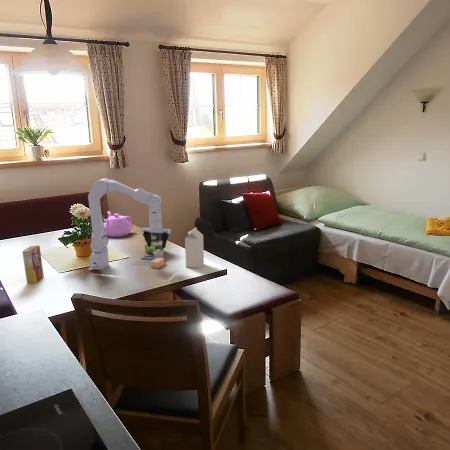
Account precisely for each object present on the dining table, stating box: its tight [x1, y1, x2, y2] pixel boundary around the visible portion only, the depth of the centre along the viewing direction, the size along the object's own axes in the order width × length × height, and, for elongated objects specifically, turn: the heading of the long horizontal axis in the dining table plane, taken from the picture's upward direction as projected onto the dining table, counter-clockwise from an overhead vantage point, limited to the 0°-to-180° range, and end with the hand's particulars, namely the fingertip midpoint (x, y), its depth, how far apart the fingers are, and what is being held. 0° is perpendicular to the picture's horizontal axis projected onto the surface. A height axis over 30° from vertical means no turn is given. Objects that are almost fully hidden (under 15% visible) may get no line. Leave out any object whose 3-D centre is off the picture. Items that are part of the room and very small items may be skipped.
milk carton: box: [184, 226, 205, 269], centre depth 208 cm, size 7×7×19 cm
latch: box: [153, 249, 165, 259], centre depth 215 cm, size 6×4×5 cm, turn 165°
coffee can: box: [144, 226, 165, 256], centre depth 229 cm, size 10×10×14 cm
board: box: [131, 255, 154, 267], centre depth 215 cm, size 15×10×2 cm, turn 165°
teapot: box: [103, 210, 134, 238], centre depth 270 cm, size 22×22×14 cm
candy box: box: [22, 245, 45, 285], centre depth 190 cm, size 9×4×15 cm, turn 0°
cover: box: [150, 257, 165, 269], centre depth 208 cm, size 7×4×4 cm, turn 163°
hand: (156, 247), depth 205 cm, fingers open, 7 cm apart
